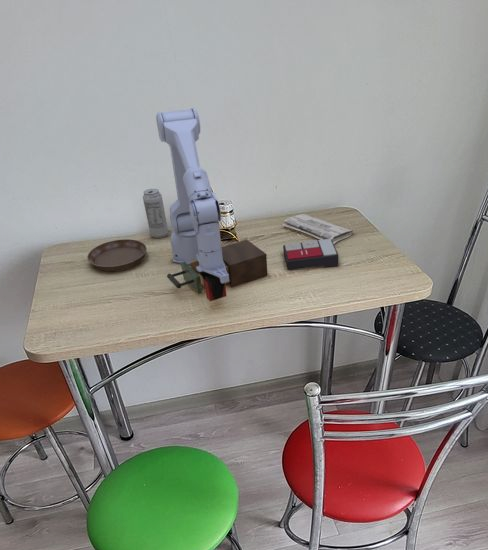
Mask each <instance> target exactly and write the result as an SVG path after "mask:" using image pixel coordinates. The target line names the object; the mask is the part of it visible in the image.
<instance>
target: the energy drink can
mask: <svg viewBox="0 0 488 550" xmlns="http://www.w3.org/2000/svg"><path fill="white" fill-rule="evenodd" d="M142 200H143V206H144V210H145V216H146V220H147V225H148V229H149V234H150V236H152V238H154V239H163V238H166V237H167V236H168V234H169V227H168V222H167V217H166V216H167V215H166V211H165V206H164V200H163V195H162V194H161V192H160V190H159V189H158V188H148V189H146V190H143V196H142Z"/></svg>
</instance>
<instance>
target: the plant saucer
mask: <svg viewBox="0 0 488 550" xmlns="http://www.w3.org/2000/svg"><path fill="white" fill-rule="evenodd" d="M147 251H148V250H147V245H146V244H145V243H144V242H142V241H140V240H137V239H125V238H124V239H115V240H110V241H107V242H104V243H101V244H99V245H97V246H95V247H94V248H92V249H91V250H90V251H89V252H88V254H87V257H86V258H87V261H88V263H90V264H91V265H92V266H94V267H95V268H97V269H99V270H101V271H106V272H118V271H119V272H120V271H125V270H128V269H130V268H133V267H135V266H136V265H138V264H140V263H141V261H142V260H143V259H144V257H145V255H146V253H147Z"/></svg>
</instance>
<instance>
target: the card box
mask: <svg viewBox="0 0 488 550" xmlns="http://www.w3.org/2000/svg"><path fill="white" fill-rule="evenodd" d="M204 283H205V289H204V290H205V297H206V299H207V300H208V301H209V302H213V301H216V300H220V299H223V298H225V297H227V295H228V294H227V286H226V284H225V285H224V290H223V296H222V298H219V299H216V300H215V299H214V297H213V294H212V290H211V287H210V285H209V283H208V281H207V280H206V279H204Z"/></svg>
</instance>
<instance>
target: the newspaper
mask: <svg viewBox="0 0 488 550" xmlns="http://www.w3.org/2000/svg"><path fill="white" fill-rule="evenodd" d="M281 226H283V227H287V228H289V229H292V230H296V231H299V232H301V233H303V234H306V235H309V236H311V237H314V238H316V239H317V240H324V239H332V241H333V244H334V245H335V244H337V243H338V242H339V241H342V240H344V239H347V238H349V237H351V236H352V234H353V233H354V230H352V229H349V228H346V227H343V226H340V225H337V224H334V223H331V222H329V221H326V220H323V219H320V218H317V217H314V216H311V215H310V214H309V215H308V214H306V213H301V214H296V215H293V216H291V217H288V218H286V219H284V220H283V223H282V224H281Z"/></svg>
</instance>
